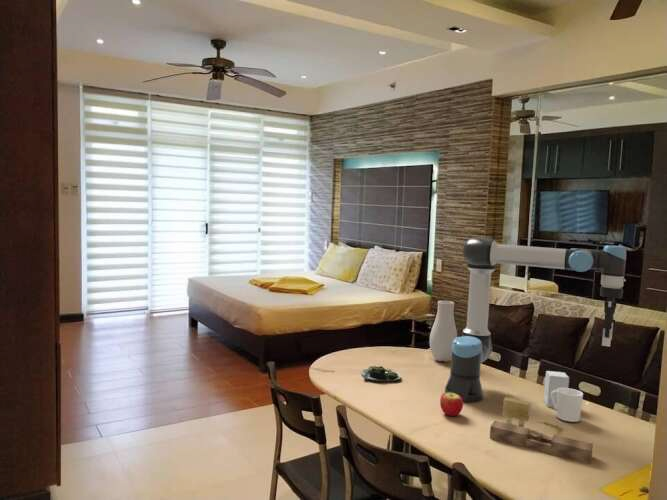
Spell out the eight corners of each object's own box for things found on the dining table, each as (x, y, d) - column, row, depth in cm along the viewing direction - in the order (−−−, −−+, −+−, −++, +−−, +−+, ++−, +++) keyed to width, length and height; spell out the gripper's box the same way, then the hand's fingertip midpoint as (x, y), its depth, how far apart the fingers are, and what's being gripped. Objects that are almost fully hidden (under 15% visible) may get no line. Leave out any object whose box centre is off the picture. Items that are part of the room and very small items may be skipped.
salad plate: (353, 370, 239) (354, 360, 239) (390, 369, 243) (391, 360, 243) (365, 384, 220) (366, 373, 220) (405, 383, 224) (405, 372, 224)
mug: (579, 416, 195) (581, 389, 194) (582, 425, 186) (584, 397, 186) (547, 411, 198) (550, 385, 198) (549, 420, 190) (551, 392, 189)
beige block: (502, 424, 184) (503, 399, 183) (503, 421, 186) (505, 397, 186) (526, 430, 180) (528, 404, 179) (528, 427, 182) (530, 402, 181)
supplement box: (567, 409, 202) (569, 377, 201) (546, 407, 203) (549, 375, 202) (562, 402, 209) (565, 372, 208) (543, 400, 210) (545, 370, 209)
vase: (428, 362, 257) (432, 302, 254) (428, 355, 270) (431, 298, 268) (457, 365, 254) (461, 305, 252) (455, 358, 268) (459, 300, 266)
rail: (489, 437, 172) (490, 426, 171) (494, 431, 177) (494, 420, 177) (590, 463, 157) (591, 451, 156) (591, 456, 162) (592, 443, 162)
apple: (447, 408, 196) (448, 382, 196) (466, 415, 190) (468, 388, 190) (434, 413, 191) (436, 387, 190) (454, 421, 185) (456, 393, 184)
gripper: (622, 291, 182) (617, 350, 184) (623, 284, 204) (619, 337, 205) (598, 289, 186) (593, 347, 187) (602, 282, 207) (597, 334, 209)
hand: (606, 342), depth 196 cm, fingers open, 13 cm apart
